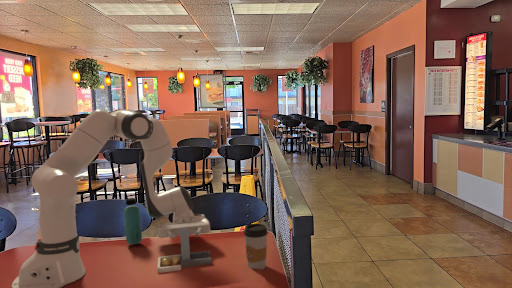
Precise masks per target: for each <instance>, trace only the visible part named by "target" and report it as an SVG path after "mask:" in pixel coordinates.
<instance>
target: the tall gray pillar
mask: <svg viewBox="0 0 512 288" xmlns="http://www.w3.org/2000/svg"><path fill="white" fill-rule="evenodd" d="M179 237H180V252H181V253H180V254H181V255H182V261H185V260H190V253H191V250H190V249H191V247H190V235H189V229H188V227H180V236H179Z"/></svg>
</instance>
